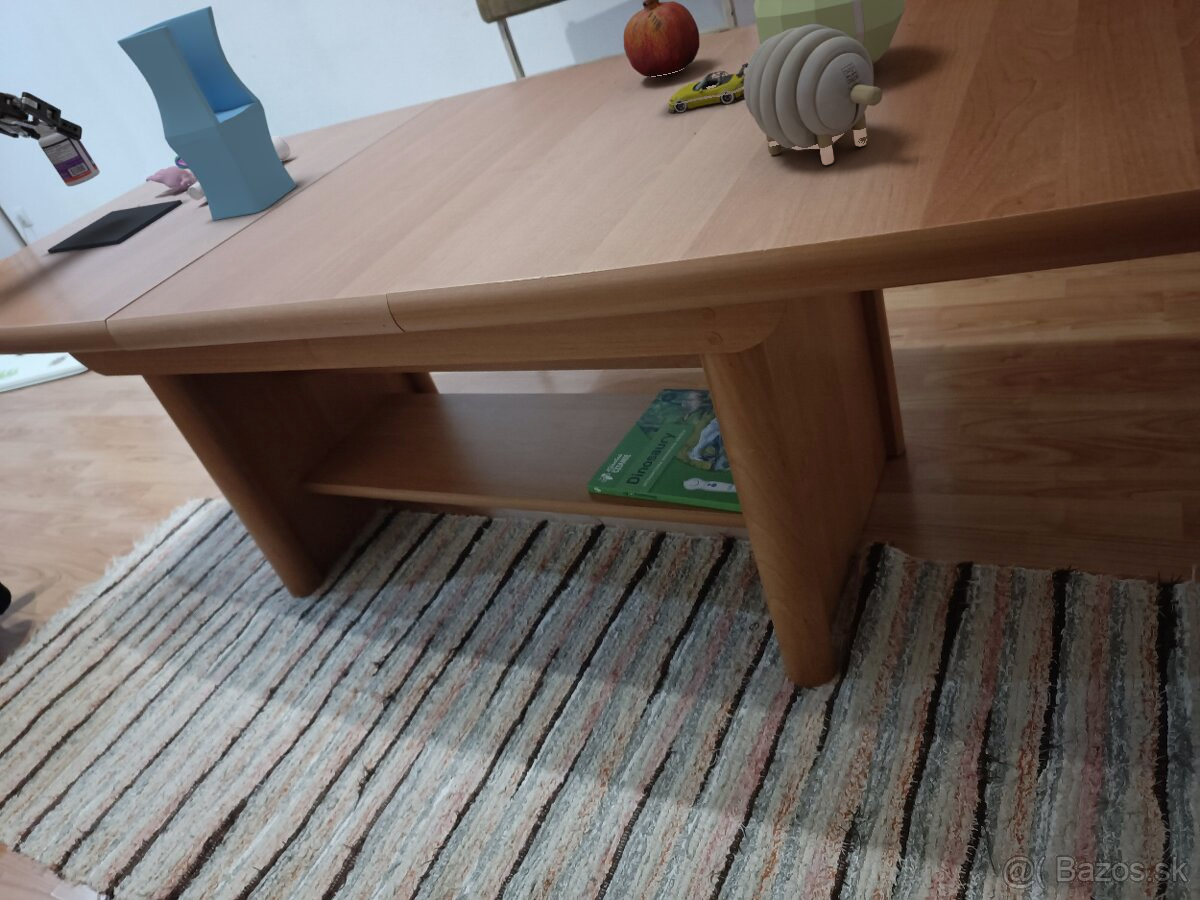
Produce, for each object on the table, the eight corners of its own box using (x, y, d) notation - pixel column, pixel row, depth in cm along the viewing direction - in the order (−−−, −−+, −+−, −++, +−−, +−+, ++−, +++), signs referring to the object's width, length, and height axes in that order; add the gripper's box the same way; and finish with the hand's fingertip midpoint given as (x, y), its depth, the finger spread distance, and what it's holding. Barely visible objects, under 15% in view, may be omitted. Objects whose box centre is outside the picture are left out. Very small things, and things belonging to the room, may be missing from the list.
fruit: (709, 74, 113) (692, -8, 107) (635, 97, 115) (615, 17, 109) (700, 55, 122) (684, -22, 116) (632, 77, 123) (612, 2, 117)
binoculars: (296, 157, 145) (282, 130, 142) (240, 198, 133) (224, 169, 131) (248, 168, 149) (234, 141, 146) (190, 208, 137) (174, 180, 135)
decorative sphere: (879, 98, 88) (864, -66, 80) (747, 111, 97) (720, -35, 88) (925, 46, 97) (915, -106, 89) (799, 63, 106) (779, -75, 97)
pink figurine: (232, 182, 150) (166, 180, 155) (218, 148, 146) (150, 148, 151) (208, 198, 145) (141, 196, 150) (193, 164, 142) (124, 162, 147)
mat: (49, 253, 141) (47, 250, 141) (113, 214, 151) (111, 211, 150) (119, 243, 133) (116, 240, 132) (182, 203, 142) (180, 199, 142)
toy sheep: (795, 122, 90) (778, 8, 84) (932, 136, 77) (924, 3, 71) (720, 164, 87) (696, 49, 80) (849, 186, 74) (833, 52, 67)
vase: (261, 212, 123) (161, 27, 109) (212, 220, 127) (109, 43, 113) (301, 182, 130) (211, 5, 116) (253, 191, 134) (161, 21, 120)
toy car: (675, 101, 108) (670, 76, 106) (754, 85, 104) (750, 60, 102) (664, 116, 104) (658, 91, 103) (746, 100, 100) (741, 74, 98)
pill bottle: (80, 177, 140) (41, 117, 134) (107, 169, 138) (69, 108, 133) (60, 190, 135) (19, 128, 130) (87, 182, 134) (46, 120, 128)
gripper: (-23, 49, 117) (99, 106, 131) (-79, 69, 123) (44, 121, 138) (-29, 103, 116) (94, 154, 131) (-85, 120, 123) (38, 167, 138)
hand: (68, 137), depth 134 cm, fingers closed on pill bottle, 5 cm apart
